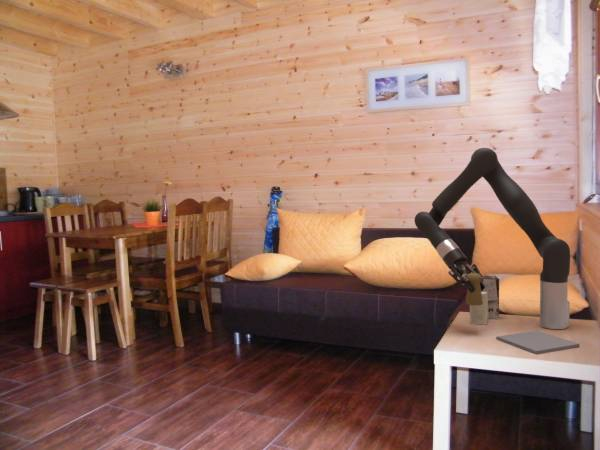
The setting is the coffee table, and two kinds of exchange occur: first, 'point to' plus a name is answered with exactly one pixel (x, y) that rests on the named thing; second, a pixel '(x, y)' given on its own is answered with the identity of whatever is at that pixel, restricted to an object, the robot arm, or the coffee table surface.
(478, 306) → the skincare box
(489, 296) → the coffee box
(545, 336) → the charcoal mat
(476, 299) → the cork
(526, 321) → the coffee table surface
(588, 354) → the coffee table surface
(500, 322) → the coffee table surface
